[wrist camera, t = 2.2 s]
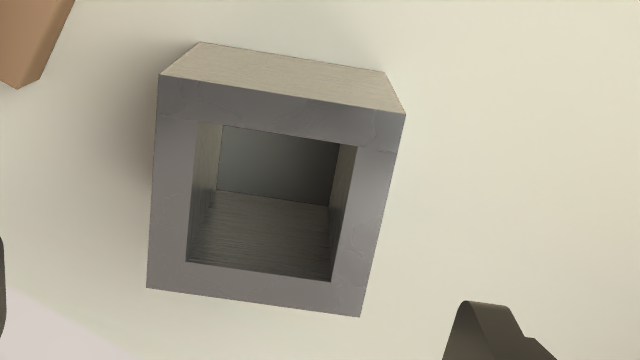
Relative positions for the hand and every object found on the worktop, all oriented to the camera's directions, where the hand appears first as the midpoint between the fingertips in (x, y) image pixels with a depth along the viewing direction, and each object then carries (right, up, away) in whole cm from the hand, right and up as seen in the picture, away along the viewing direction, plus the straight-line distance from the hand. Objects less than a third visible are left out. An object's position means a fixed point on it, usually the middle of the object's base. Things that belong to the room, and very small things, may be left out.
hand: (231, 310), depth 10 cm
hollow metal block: (0, +3, +9) cm, 10 cm away
